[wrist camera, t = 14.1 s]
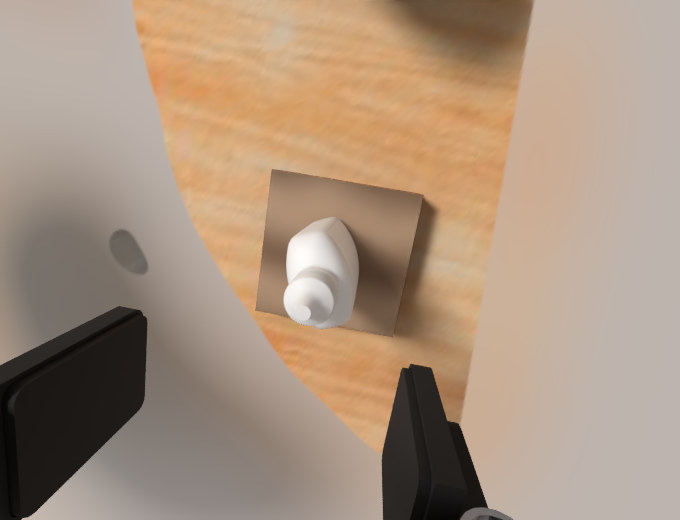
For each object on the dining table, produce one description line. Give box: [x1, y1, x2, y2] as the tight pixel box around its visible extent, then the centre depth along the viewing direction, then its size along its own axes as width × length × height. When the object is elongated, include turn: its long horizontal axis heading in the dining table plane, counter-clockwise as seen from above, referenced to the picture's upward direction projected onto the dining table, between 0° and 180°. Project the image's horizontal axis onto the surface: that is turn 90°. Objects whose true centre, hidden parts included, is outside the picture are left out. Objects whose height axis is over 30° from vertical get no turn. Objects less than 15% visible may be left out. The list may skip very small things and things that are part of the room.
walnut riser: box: [256, 169, 424, 337], centre depth 28 cm, size 11×11×2 cm
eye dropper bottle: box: [283, 217, 359, 329], centre depth 21 cm, size 4×6×12 cm
